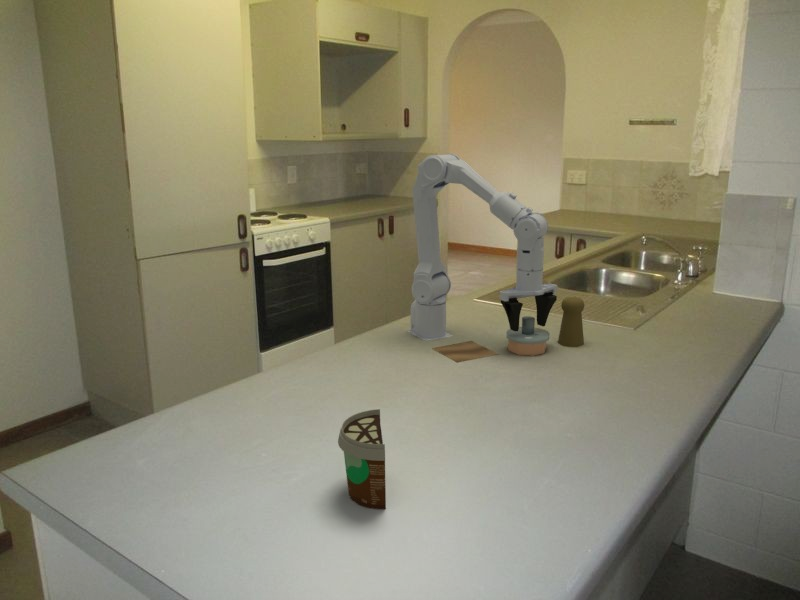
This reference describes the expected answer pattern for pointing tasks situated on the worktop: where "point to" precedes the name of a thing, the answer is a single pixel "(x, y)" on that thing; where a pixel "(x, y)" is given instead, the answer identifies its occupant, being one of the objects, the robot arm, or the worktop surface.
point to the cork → (571, 322)
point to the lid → (528, 333)
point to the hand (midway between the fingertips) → (527, 327)
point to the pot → (526, 348)
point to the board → (464, 351)
